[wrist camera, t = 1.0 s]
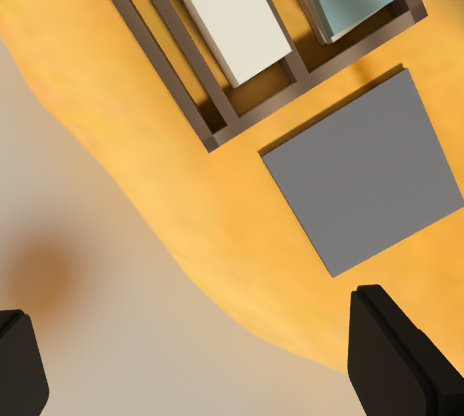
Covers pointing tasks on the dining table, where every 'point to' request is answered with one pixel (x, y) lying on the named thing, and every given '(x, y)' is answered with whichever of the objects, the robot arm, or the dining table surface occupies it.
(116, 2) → the walnut rack
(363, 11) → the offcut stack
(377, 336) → the robot arm
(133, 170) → the dining table surface
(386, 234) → the rubber mat
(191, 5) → the white rectangular block
